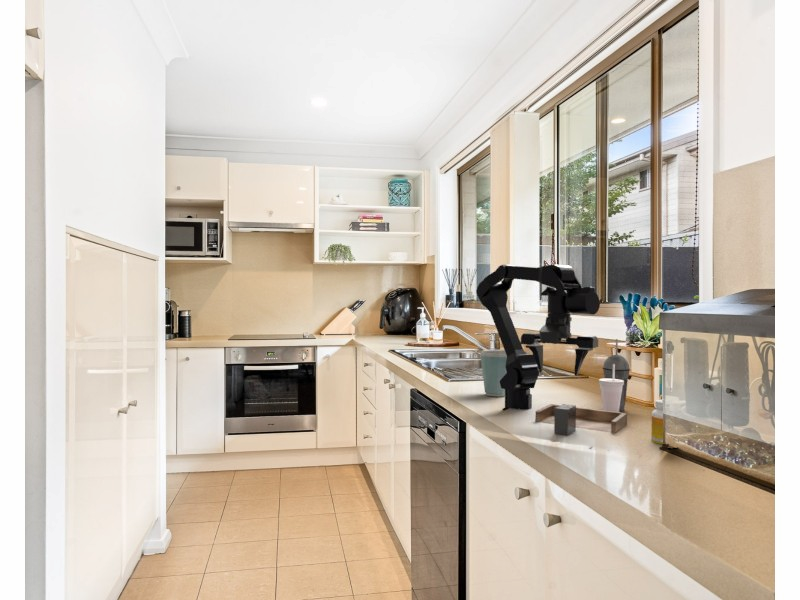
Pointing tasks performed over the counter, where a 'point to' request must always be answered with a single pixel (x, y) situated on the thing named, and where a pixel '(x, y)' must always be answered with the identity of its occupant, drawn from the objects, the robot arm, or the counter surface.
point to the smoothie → (611, 392)
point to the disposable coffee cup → (493, 371)
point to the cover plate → (565, 420)
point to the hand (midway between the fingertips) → (558, 373)
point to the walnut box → (587, 418)
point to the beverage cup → (618, 372)
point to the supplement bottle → (657, 423)
